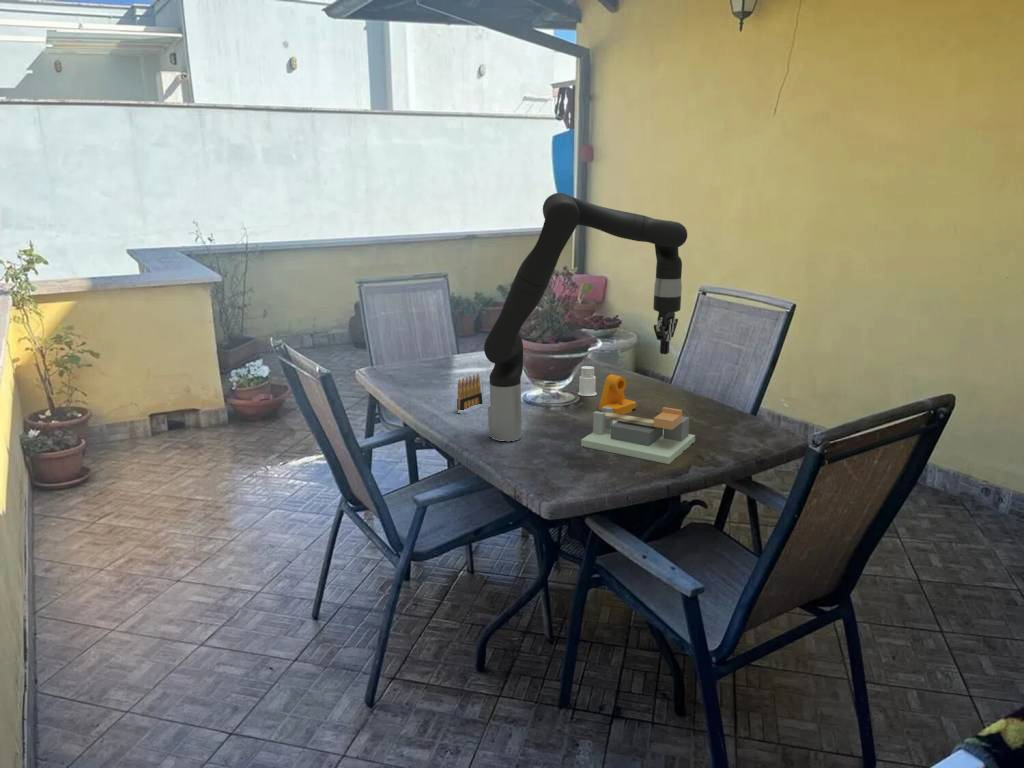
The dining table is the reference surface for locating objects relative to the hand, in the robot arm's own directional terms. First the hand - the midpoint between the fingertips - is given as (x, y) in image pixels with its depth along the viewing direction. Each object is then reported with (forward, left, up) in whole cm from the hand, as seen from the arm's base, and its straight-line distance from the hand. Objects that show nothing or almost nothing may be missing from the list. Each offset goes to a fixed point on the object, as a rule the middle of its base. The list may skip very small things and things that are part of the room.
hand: (664, 353), depth 206 cm
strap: (-5, -8, -20) cm, 22 cm away
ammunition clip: (-67, -7, -26) cm, 72 cm away
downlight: (-41, +29, -26) cm, 57 cm away
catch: (+5, -9, -18) cm, 21 cm away
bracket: (-23, +17, -26) cm, 39 cm away
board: (-4, -8, -26) cm, 28 cm away
